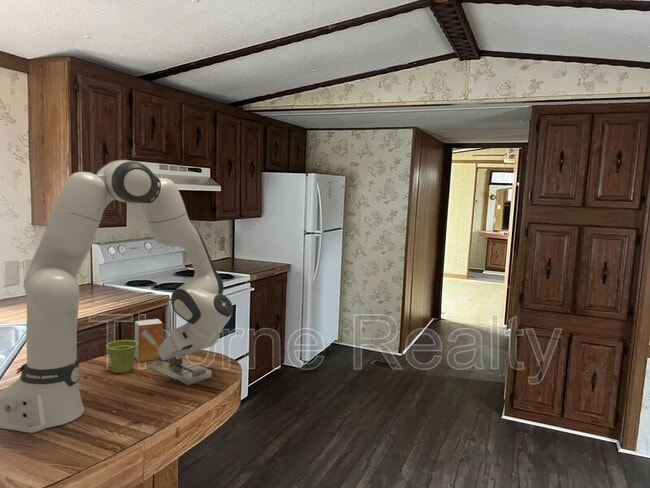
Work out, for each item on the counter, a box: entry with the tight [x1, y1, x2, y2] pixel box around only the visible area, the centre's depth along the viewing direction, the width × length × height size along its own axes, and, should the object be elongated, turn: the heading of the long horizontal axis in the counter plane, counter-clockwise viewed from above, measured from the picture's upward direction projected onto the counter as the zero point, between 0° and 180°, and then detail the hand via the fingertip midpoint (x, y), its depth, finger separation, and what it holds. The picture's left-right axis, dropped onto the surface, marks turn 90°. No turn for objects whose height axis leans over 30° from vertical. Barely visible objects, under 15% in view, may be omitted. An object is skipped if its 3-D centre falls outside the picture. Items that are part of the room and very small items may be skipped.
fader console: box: [150, 357, 213, 386], centre depth 154 cm, size 21×9×3 cm, turn 53°
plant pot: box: [105, 339, 138, 374], centre depth 154 cm, size 9×9×9 cm
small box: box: [134, 318, 164, 363], centre depth 165 cm, size 8×6×13 cm
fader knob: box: [169, 357, 183, 366], centre depth 155 cm, size 3×3×8 cm
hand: (179, 356), depth 154 cm, fingers closed, pressing on fader knob
